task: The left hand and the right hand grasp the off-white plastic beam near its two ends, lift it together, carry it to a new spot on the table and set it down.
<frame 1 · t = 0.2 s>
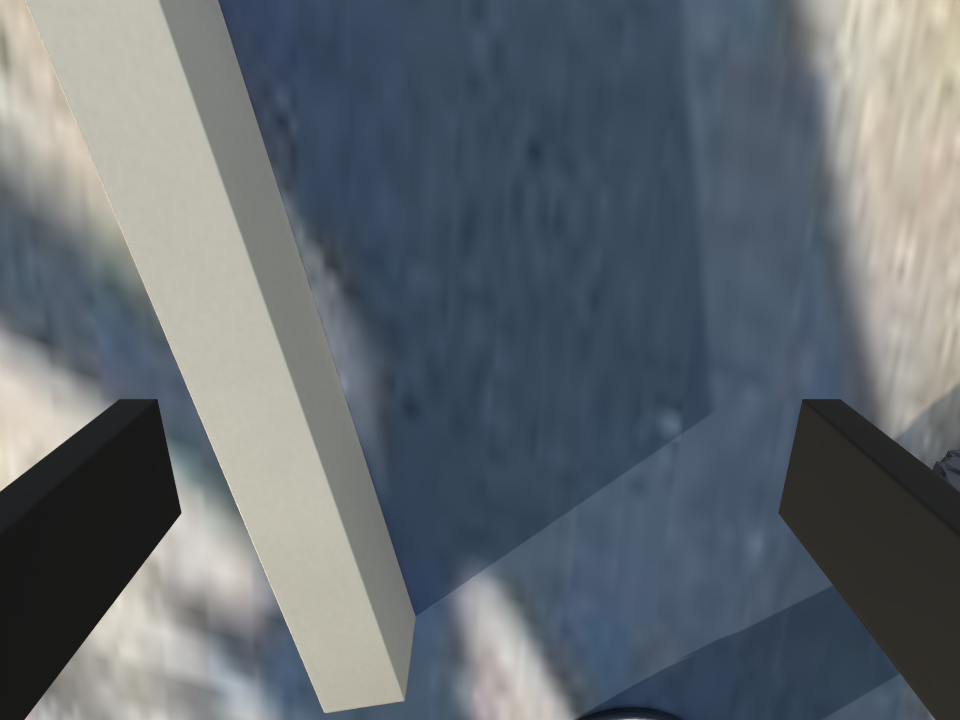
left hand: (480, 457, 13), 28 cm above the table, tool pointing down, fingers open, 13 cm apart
beam: (189, 72, 35), on the table
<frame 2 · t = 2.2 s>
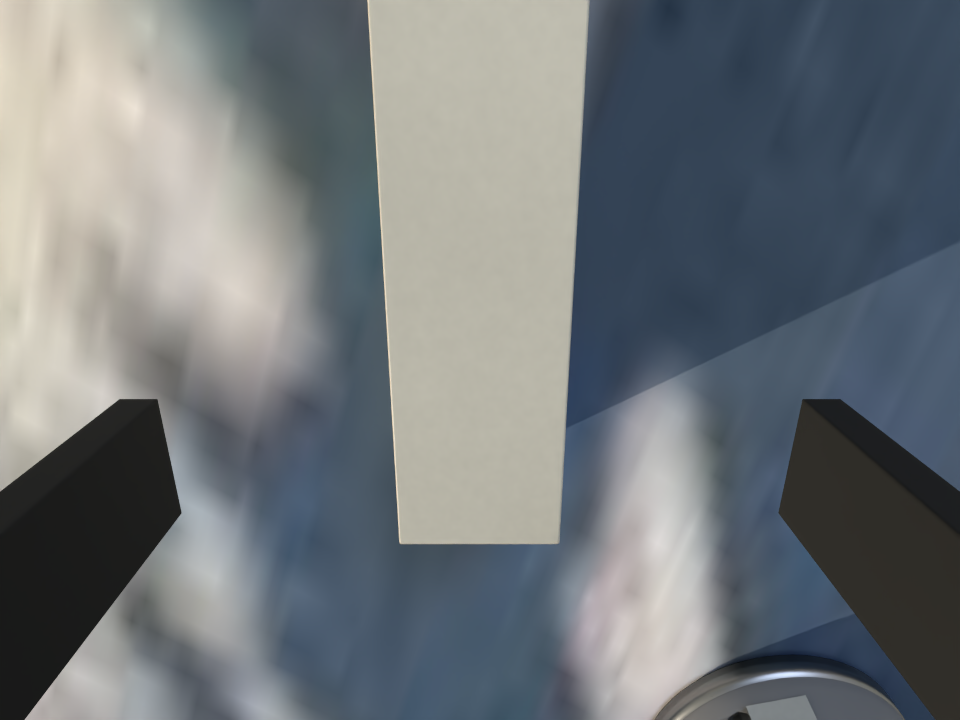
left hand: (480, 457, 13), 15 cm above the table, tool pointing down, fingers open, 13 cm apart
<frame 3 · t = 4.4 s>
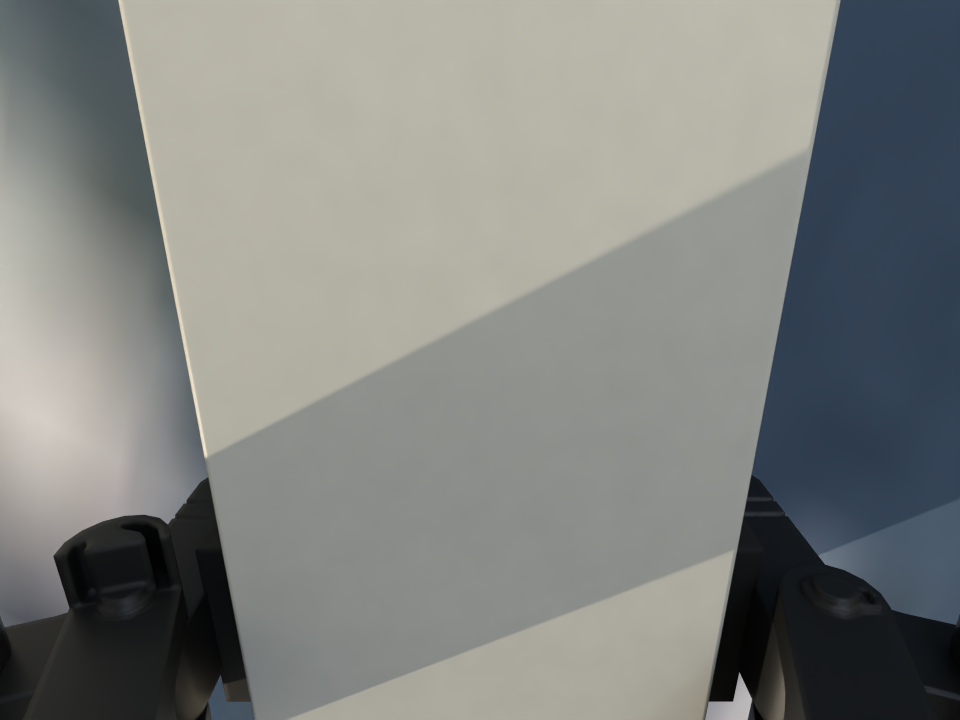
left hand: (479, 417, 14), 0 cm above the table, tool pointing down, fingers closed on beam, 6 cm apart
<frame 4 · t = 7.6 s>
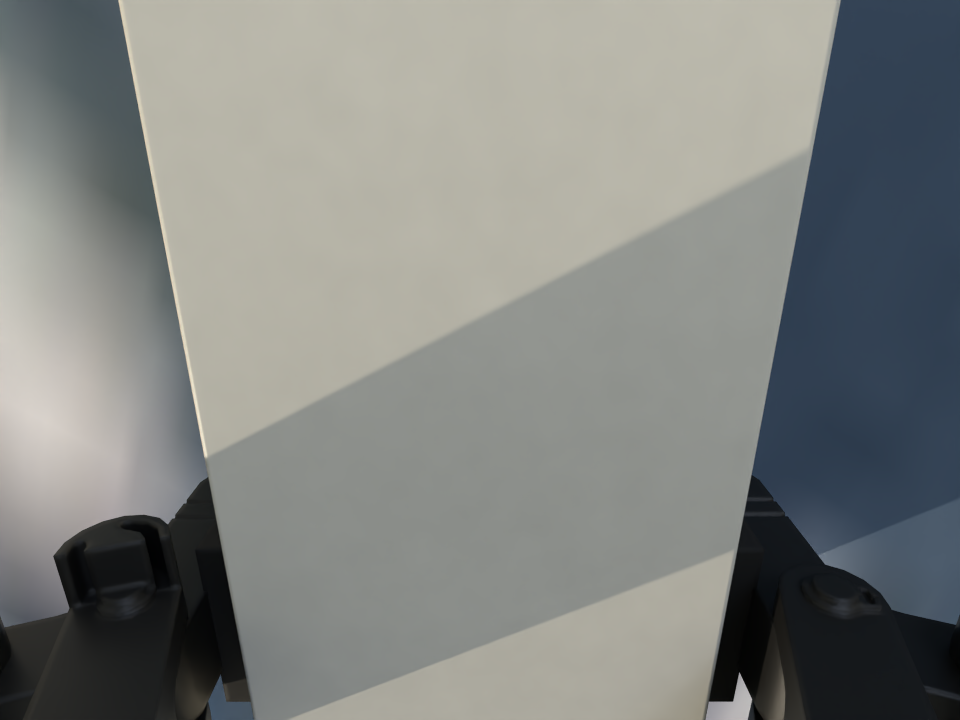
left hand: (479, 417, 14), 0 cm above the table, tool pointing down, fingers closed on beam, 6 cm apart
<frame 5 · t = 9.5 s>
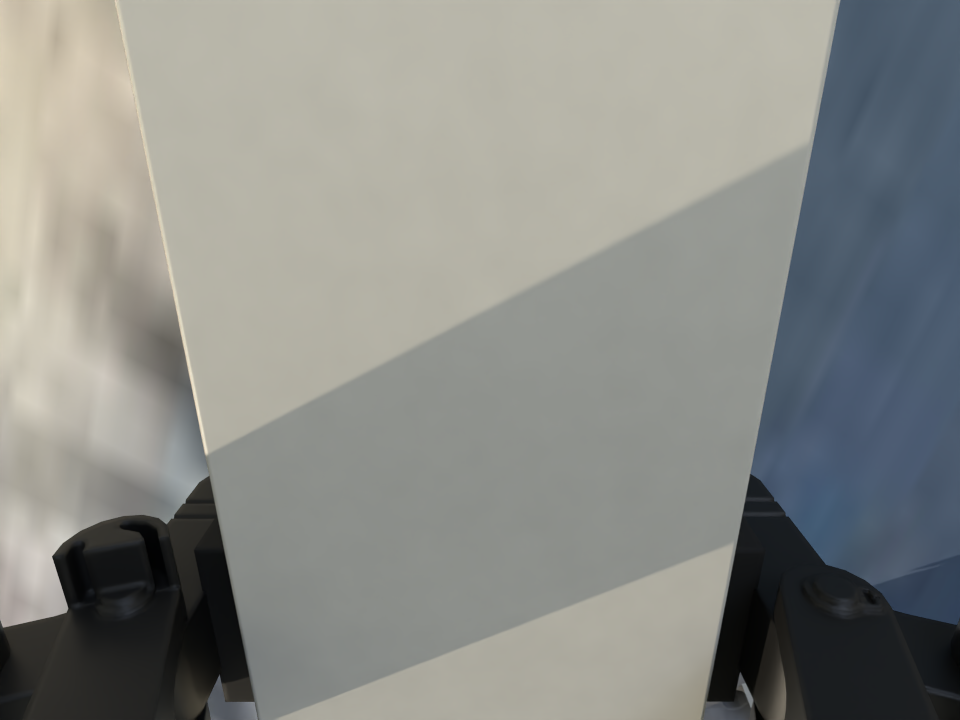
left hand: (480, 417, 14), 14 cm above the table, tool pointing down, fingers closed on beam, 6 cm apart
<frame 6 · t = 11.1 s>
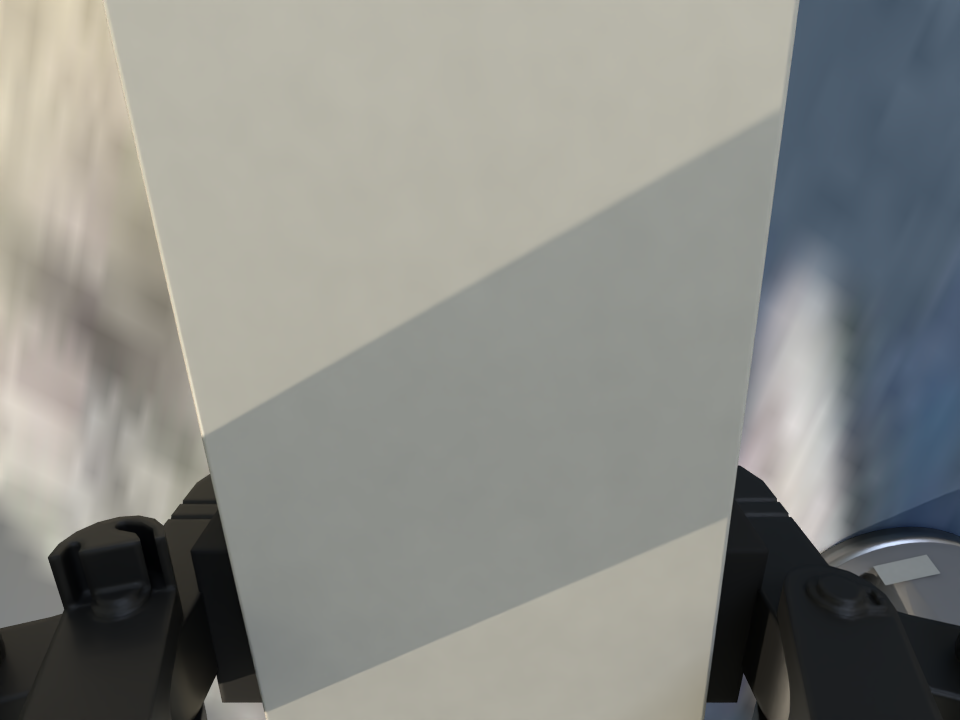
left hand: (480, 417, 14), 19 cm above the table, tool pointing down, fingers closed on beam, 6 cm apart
when the left hand's fingers open (2 cm above the table, at t = 14.7 s): beam stays where it is, on the table.
when the right hand's fingers open (1 cm above the table, at t = 14.7 s): beam stays where it is, on the table.
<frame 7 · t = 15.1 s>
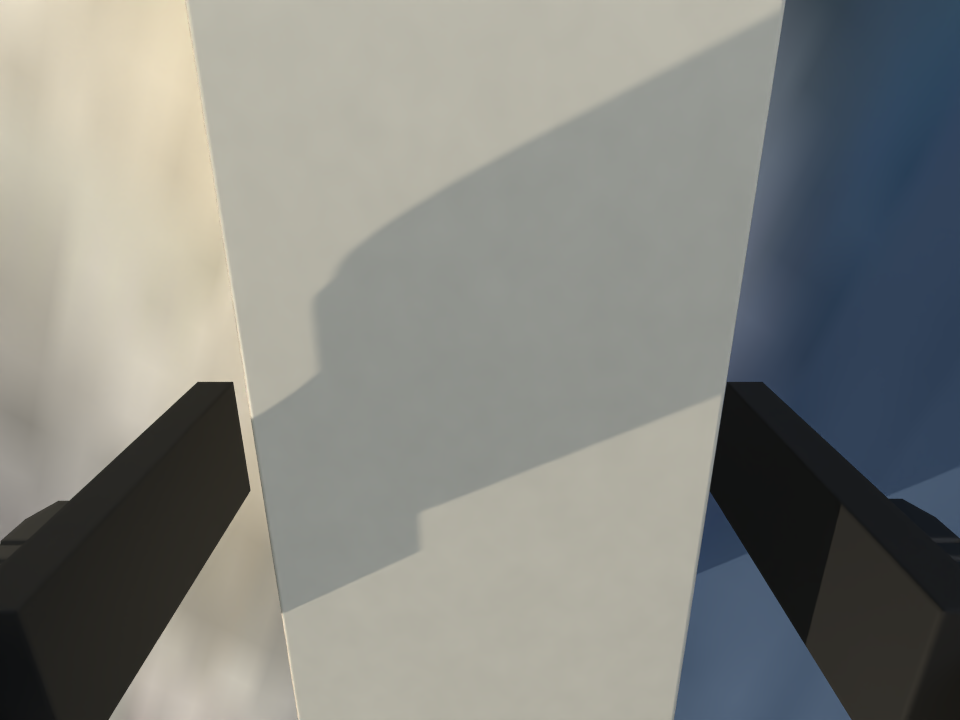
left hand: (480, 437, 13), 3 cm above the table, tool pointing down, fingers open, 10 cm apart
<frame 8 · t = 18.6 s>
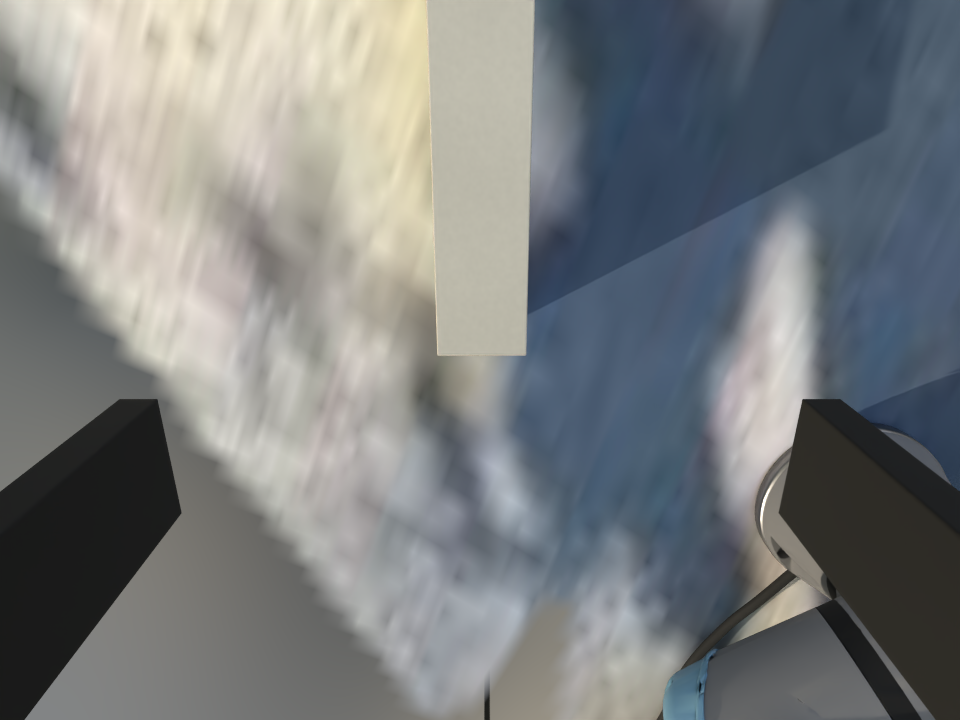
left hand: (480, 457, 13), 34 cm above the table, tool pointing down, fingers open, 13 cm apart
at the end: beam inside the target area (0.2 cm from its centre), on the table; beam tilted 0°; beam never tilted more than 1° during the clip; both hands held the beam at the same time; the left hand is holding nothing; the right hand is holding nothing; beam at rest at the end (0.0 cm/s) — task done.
